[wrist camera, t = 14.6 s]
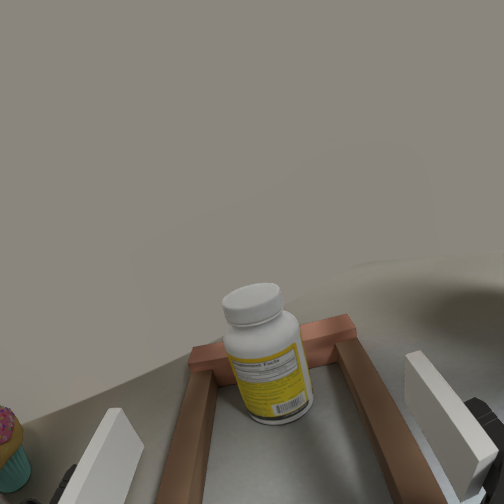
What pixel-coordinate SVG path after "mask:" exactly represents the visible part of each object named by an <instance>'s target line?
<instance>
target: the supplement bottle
mask: <svg viewBox="0 0 504 504" xmlns="http://www.w3.org/2000/svg"><path fill="white" fill-rule="evenodd" d="M222 307H223V310H224V314H225V318H226V320H227V322H228V323H229V324H230V325H229V326H228V328H227V329H226V331H225V334H224V337H223V342H224V346H225V350H226V353H227V356H228V359H229V361H230V364H231V367H232V370H233V373H234V376H235V379H236V381H237V384H238V387H239V390H240V393H241V395H242V398H243V401H244V404H245V406H246V409H247V411H248V413H249V415H250V416H251V417H252V418H253V419H254V420H256V421H258V422H260V423H263V424H268V425H280V424H285V423H289V422H292V421H294V420H296V419H298V418H300V417H301V416H302V415H304V414H305V413H306V412H307V411H308V410H309V408H310V407H311V405H312V403H313V398H314V394H313V388H312V383H311V378H310V373H309V368H308V364H307V359H306V354H305V350H304V345H303V340H302V336H301V331H300V327H299V324H298V321H297V319H296V318H295V317H294V316H293V315H292V314H291V313H289V312H287V311H284V310H283V309H284V304H283V299H282V295H281V291H280V288H279V287H278V286H277V285H275V284H272V283H258V284H252V285H248V286H245V287H242V288H239V289H237V290H235V291H232V292H231V293H229V294H228V295H226V296H225V297H224V298H223V300H222Z"/></svg>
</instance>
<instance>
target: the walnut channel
mask: <svg viewBox="0 0 504 504" xmlns="http://www.w3.org/2000/svg"><path fill="white" fill-rule="evenodd" d="M299 327H300V331H301V336H302V340H303V345H304V350H305V354H306V359H307V364H308V368H309V369H310V368H314V367H318V366H322V365H326V364H330V363H334V362H338V363H339V365H340V368H341V370H342V373H343V375H344V377H345V380H346V382H347V384H348V387H349V389H350V392H351V394H352V397H353V399H354V401H355V404H356V406H357V409H358V411H359V414H360V416H361V419H362V421H363V424H364V426H365V429H366V431H367V434H368V436H369V439H370V441H371V444H372V446H373V449H374V451H375V454H376V457H377V459H378V462H379V464H380V467H381V470H382V472H383V475H384V477H385V480H386V483H387V485H388V488H389V491H390V493H391V496H392V499H393V501H394V504H448V503H447V501H446V499H445V497H444V495H443V493H442V491H441V489H440V487H439V485H438V483H437V481H436V479H435V477H434V475H433V473H432V471H431V469H430V467H429V465H428V463H427V461H426V459H425V457H424V456H423V454H422V452H421V450H420V448H419V446H418V444H417V442H416V441H415V439H414V437H413V435H412V433H411V431H410V429H409V428H408V426H407V424H406V422H405V420H404V418H403V417H402V415H401V413H400V411H399V409H398V408H397V406H396V404H395V402H394V400H393V399H392V397H391V395H390V393H389V392H388V390H387V388H386V386H385V384H384V383H383V381H382V379H381V377H380V376H379V374H378V372H377V371H376V369H375V367H374V365H373V364H372V362H371V360H370V358H369V357H368V355H367V353H366V352H365V350H364V348H363V347H362V345H361V343H360V342H359V340H358V338H357V333H356V327H355V325H354V324H353V322H352V321H351V319H350V317H349V316H348V314H343V315H339V316H336V317H332V318H328V319H324V320H320V321H316V322H312V323H308V324H303V325H299ZM188 366H189V368H190V371H191V375H190V379H189V382H188V386H187V389H186V393H185V396H184V400H183V403H182V407H181V410H180V414H179V417H178V421H177V425H176V428H175V432H174V436H173V439H172V443H171V446H170V450H169V454H168V458H167V461H166V465H165V469H164V472H163V476H162V480H161V484H160V488H159V491H158V495H157V499H156V503H155V504H202V499H203V492H204V485H205V478H206V470H207V463H208V456H209V449H210V442H211V435H212V428H213V422H214V415H215V408H216V401H217V394H218V388H219V386H225V385H231V384H237V381H236V379H235V376H234V373H233V370H232V367H231V364H230V361H229V359H228V356H227V353H226V350H225V346H224V342H219V343H214V344H208V345H203V346H197V347H193V349H192V352H191V355H190V358H189V361H188Z"/></svg>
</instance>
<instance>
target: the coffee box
mask: <svg viewBox="0 0 504 504" xmlns="http://www.w3.org/2000/svg"><path fill="white" fill-rule="evenodd" d="M0 504H11V503H10V502H9V501H8V500H7V499H6V498H5V497H4V496H3V495H2V494H1V493H0Z"/></svg>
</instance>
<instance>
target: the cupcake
mask: <svg viewBox="0 0 504 504" xmlns="http://www.w3.org/2000/svg"><path fill="white" fill-rule="evenodd" d="M22 441H23V428H22V426H21V424H20V423H19V421H18V419H17V418H16V416H15V415H14V413H13V412H12V411H11V409H10V408H9V409H8V408H6V407H5V408H4V407H3V406H0V492H3V493H10V492H14V491H16V490H18V489H20V488H21V487H22V486H23V485H24V484H25V483H26V482H27V481H28V479H29V477H30V473H31V467H30V464H29V462H28V460H27V457H26V455H25V452H24V450H23V447H22Z"/></svg>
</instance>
